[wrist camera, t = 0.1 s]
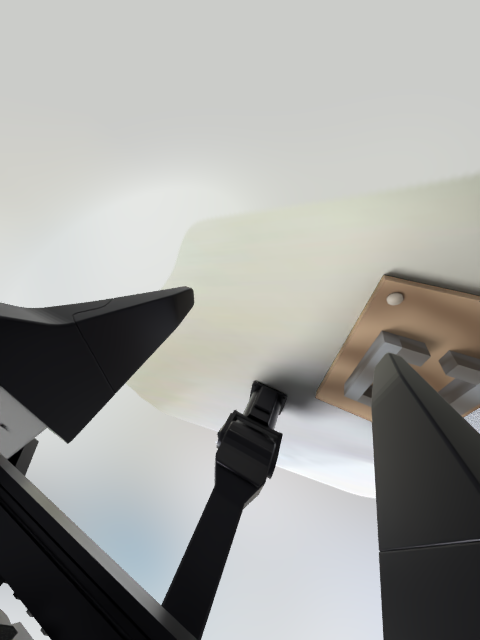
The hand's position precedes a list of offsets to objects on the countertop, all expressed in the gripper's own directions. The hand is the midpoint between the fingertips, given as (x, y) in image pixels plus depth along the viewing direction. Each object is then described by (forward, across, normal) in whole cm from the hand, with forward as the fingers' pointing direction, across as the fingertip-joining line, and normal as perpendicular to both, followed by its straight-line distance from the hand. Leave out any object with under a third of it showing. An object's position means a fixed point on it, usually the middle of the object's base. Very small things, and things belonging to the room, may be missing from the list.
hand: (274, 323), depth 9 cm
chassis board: (+15, -14, +11) cm, 23 cm away
